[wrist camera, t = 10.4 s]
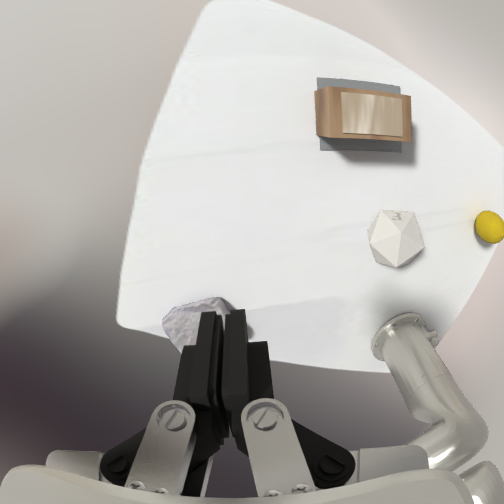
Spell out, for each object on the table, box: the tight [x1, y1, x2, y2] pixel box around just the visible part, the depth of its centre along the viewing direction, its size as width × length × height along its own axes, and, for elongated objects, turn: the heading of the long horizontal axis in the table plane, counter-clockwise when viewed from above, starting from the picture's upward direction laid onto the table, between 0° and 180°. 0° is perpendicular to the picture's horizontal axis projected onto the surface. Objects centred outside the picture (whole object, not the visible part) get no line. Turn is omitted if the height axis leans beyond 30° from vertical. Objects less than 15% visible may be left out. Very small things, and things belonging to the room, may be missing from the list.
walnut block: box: [314, 86, 411, 142], centre depth 30 cm, size 6×6×11 cm
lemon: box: [475, 211, 504, 244], centre depth 37 cm, size 6×6×8 cm
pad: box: [317, 78, 401, 152], centre depth 33 cm, size 13×10×1 cm
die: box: [368, 210, 424, 267], centre depth 37 cm, size 8×9×10 cm
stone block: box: [162, 297, 231, 353], centre depth 46 cm, size 12×5×10 cm
